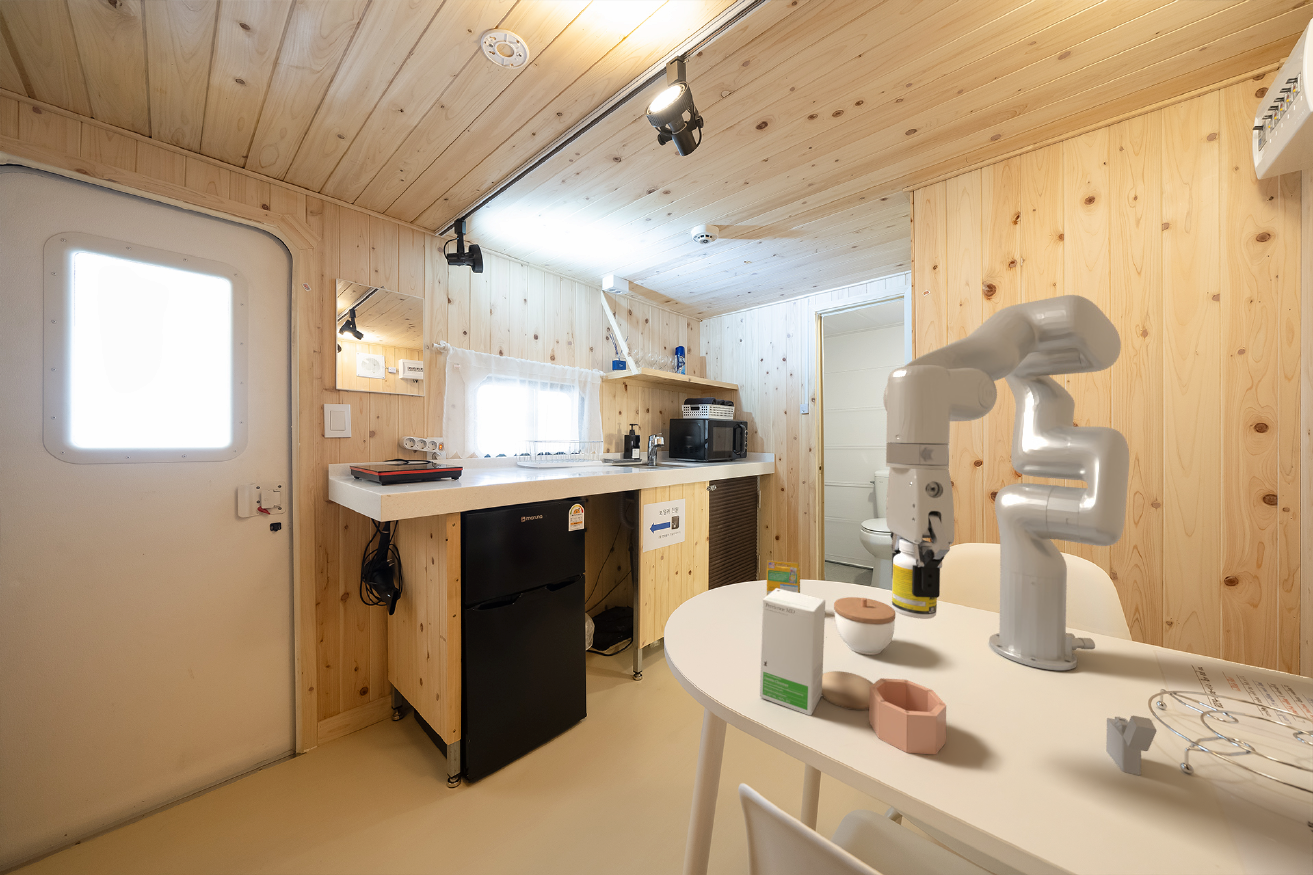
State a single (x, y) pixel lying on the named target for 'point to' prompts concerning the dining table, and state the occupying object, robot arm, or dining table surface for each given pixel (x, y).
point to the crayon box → (783, 576)
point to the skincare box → (792, 650)
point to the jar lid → (846, 690)
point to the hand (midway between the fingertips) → (914, 587)
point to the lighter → (1129, 741)
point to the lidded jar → (864, 624)
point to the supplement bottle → (909, 585)
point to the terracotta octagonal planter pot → (907, 716)
